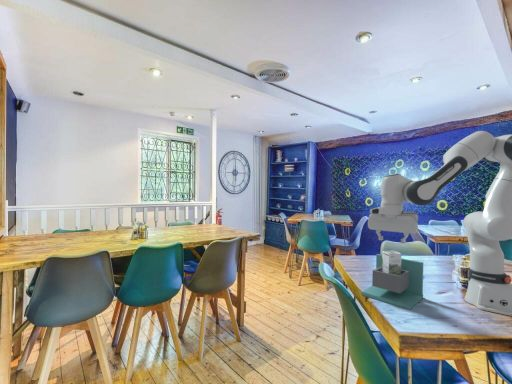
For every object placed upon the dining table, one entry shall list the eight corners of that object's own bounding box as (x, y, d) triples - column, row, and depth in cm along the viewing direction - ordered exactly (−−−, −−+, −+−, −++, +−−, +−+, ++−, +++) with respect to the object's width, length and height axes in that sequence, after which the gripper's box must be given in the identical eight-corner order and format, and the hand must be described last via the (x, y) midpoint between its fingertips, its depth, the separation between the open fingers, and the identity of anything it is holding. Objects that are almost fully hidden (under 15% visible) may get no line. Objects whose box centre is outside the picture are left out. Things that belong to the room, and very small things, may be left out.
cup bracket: (423, 297, 119) (423, 262, 119) (410, 309, 107) (410, 270, 107) (377, 285, 134) (378, 253, 134) (361, 294, 121) (362, 260, 121)
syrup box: (393, 281, 122) (393, 250, 122) (401, 286, 116) (401, 253, 116) (381, 281, 122) (381, 250, 122) (388, 286, 116) (389, 253, 116)
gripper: (420, 211, 113) (420, 243, 113) (372, 209, 128) (372, 237, 128) (415, 212, 109) (415, 246, 109) (366, 209, 124) (366, 239, 124)
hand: (391, 241), depth 119 cm, fingers open, 8 cm apart
